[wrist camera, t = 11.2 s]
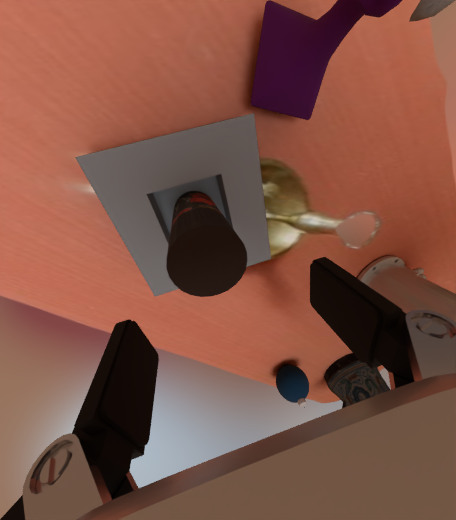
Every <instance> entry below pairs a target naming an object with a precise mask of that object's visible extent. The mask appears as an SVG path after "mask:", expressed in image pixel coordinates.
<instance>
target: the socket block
mask: <svg viewBox="0 0 456 520" xmlns="http://www.w3.org/2000/svg"><path fill="white" fill-rule="evenodd" d="M75 158H76V159H77V161H78V163H79V165H80V166H81V168H82V170H83V172H84V173H85V175H86V177H87V179H88V180H89V182H90V184H91V186H92V187H93V189H94V191H95V193H96V194H97V196H98V198H99V200H100V201H101V203H102V205H103V207H104V208H105V210H106V212H107V214H108V215H109V217H110V219H111V221H112V222H113V224H114V226H115V227H116V229H117V231H118V233H119V234H120V236H121V238H122V240H123V241H124V243H125V245H126V247H127V248H128V250H129V252H130V254H131V255H132V257H133V259H134V261H135V262H136V264H137V266H138V268H139V269H140V271H141V273H142V275H143V276H144V278H145V280H146V282H147V283H148V285H149V287H150V289H151V290H152V292H153V294H154V296H158V295H161V294H164V293H167V292H170V291H173V290H176V289H179V288H178V287H177V286H175V285H174V283H173V282H172V280H171V279H170V278H169V275H168V272H167V268H166V265H167V252H168V245H169V239H170V232H171V225H172V218H173V211H174V206H175V203H176V201H177V200H178V198H179V197H180V196H181V195H182V194H184V193H186V192H189V191H200V192H203V193H205V194H206V195H208V196H209V197H210V198H211V199H212V201H213V202H214V203H215V205H216V206H217V207H218V209H219V210H220V212H221V213H222V214H223V216H224V217H225V218H226V220H227V221H228V222H229V224H230V225H231V227H232V228H233V229H234V231H235V232H236V233H237V235H238V236H239V238H240V239H241V240H242V242H243V243H244V245H245V248H246V251H247V260H248V261H247V266H250V265H253V264H256V263H259V262H262V261H265V260H269V259H271V255H270V246H269V238H268V229H267V220H266V212H265V203H264V194H263V186H262V177H261V169H260V160H259V151H258V143H257V134H256V126H255V117H254V113H253V114H249V115H244V116H240V117H236V118H232V119H228V120H224V121H220V122H216V123H212V124H208V125H204V126H200V127H196V128H192V129H188V130H184V131H180V132H176V133H172V134H168V135H164V136H160V137H156V138H152V139H147V140H143V141H139V142H135V143H131V144H127V145H123V146H119V147H115V148H111V149H107V150H103V151H99V152H95V153H91V154H87V155H83V156H79V157H75ZM247 266H246V267H247Z"/></svg>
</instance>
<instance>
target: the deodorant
mask: <svg viewBox="0 0 456 520" xmlns="http://www.w3.org/2000/svg"><path fill="white" fill-rule="evenodd" d="M247 261H248V260H247V251H246V248H245V245H244V243H243V242H242V240H241V239H240V238H239V236H238V235H237V233H236V232H235V231H234V229H233V228H232V227H231V225H230V224H229V222H228V221H227V220H226V218H225V217H224V216H223V214H222V213H221V212H220V210H219V209H218V207H217V206H216V205H215V203H214V202H213V201H212V199H211V198H210V197H209V196H208V195H206V194H205V193H203V192H200V191H189V192H186V193H184V194H182V195H181V196H180V197H179V198H178V200H177V201H176V203H175V206H174V211H173V218H172V225H171V232H170V239H169V245H168V252H167V265H166V268H167V272H168V275H169V278H170V279H171V280H172V282H173V283H174V285H175V286H177V287H178V288H179V289H180V290H182V291H183V292H186V293H188V294H190V295H194V296H200V297H205V296H214V295H218V294H221V293H223V292H225V291H227V290H229V289H230V288H232V287H233V286H234V285H236V283H237V282H238V281H239V280H240V279H241V278H242V276H243V274H244V272H245V270H246V266H247Z"/></svg>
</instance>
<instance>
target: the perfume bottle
mask: <svg viewBox="0 0 456 520" xmlns="http://www.w3.org/2000/svg"><path fill="white" fill-rule="evenodd" d="M401 1H402V0H338V1H337V2H336V3H335V4H334V6H333V7H332V8H331V9H330V10H329V11H328V12H327V13H325V14H324V15H323V16H322V17H321V18H319V19H318V20H315V19H312V18H310V17H308V16H305V15H303V14H301V13H298V12H296V11H294V10H291V9H289V8H287V7H285V6H282V5H280V4H278V3H275V2H273V1H271V0H269V1H267V2H266V4H265V10H264V17H263V23H262V30H261V37H260V43H259V50H258V56H257V63H256V70H255V76H254V83H253V89H252V96H251V105H252V106H254V107H258V108H262V109H266V110H270V111H274V112H278V113H282V114H286V115H290V116H293V117H297V118H301V119H305V120H309V119H310V118H311V115H312V112H313V108H314V105H315V102H316V99H317V96H318V92H319V89H320V86H321V83H322V80H323V77H324V74H325V71H326V68H327V65H328V62H329V60H330V58H331V56H332V54H333V53H334V52H335V50H336V49H337V47H338V46H339V44H340V43H341V41H342V40H343V39H344V37H345V36H346V35H347V34H348V32H349V31H350V30H351V28H352V27H353V26H354V25H355V23H356V22H357V21H358V20H359V19H360V18H361V17H362V16H363V15H364V14H365V15H367V16H373V17H381V16H383V15H384V14H386V13H387V12H389V11H390V10H391V9H393V8H394V7H396V6H397V5H398V4H399V3H400V2H401ZM454 1H455V0H421V1H420V2H419V4H418V6H417V7H416V9H415V11H414V12H413V14H412V15H411V18H410V21H418V20H422V19H425V18H428V17H432V16H435V15H436V14H437V13H439V12H440V11H442V10H443V9H444V8H446V7H447V6H448V5H450V4H451V3H452V2H454ZM410 21H409V22H410Z"/></svg>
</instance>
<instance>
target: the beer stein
mask: <svg viewBox="0 0 456 520" xmlns="http://www.w3.org/2000/svg"><path fill="white" fill-rule="evenodd" d="M324 378H325V380H326V382H327V385H328V387H329V389H330V390H331V391H332V392H333V393H334V394H335V395H337V396H338V397H339V398H340V399H341V400H342V401H343V406H342V408H345V407H347V406H350V405H353V404H355V403H358V402H360V401H363V400H366V399H368V398H371V397H373V396H376V395H379V394H382V393H385V392H387V391H390V388H389V387H388V386H387V384H386V382H385V381H384V379H383V378H382V376H381V374H380V373H379V371H378V368H377V367H375V368H373V369H371V368H370V367H369V366H368V365H367V364H366V363H363V362H361V361H360V360H359V359H358V358H357V357H356V355H355V354H354V353H352V354H348V355H346V356H344V357H342V358H340V359H338V360H337V361H336V362H334V363H333V364H332V365H331V366H330V367H329V368H328V369H327V370H326V372H325V376H324Z"/></svg>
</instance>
